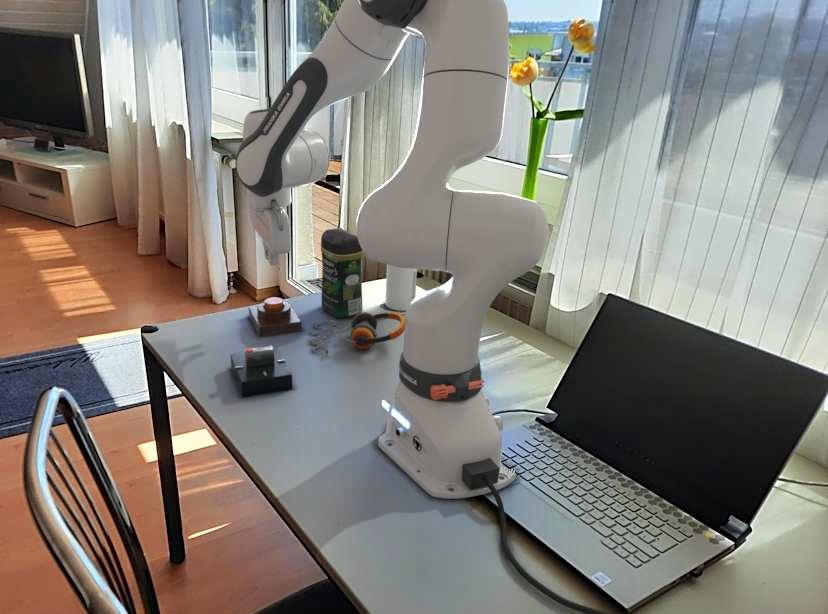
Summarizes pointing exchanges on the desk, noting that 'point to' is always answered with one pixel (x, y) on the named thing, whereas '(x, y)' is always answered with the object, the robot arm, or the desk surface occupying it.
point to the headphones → (364, 330)
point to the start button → (273, 304)
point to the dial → (259, 356)
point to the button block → (274, 320)
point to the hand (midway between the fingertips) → (271, 261)
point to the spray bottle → (400, 287)
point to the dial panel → (261, 375)
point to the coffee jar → (341, 273)
